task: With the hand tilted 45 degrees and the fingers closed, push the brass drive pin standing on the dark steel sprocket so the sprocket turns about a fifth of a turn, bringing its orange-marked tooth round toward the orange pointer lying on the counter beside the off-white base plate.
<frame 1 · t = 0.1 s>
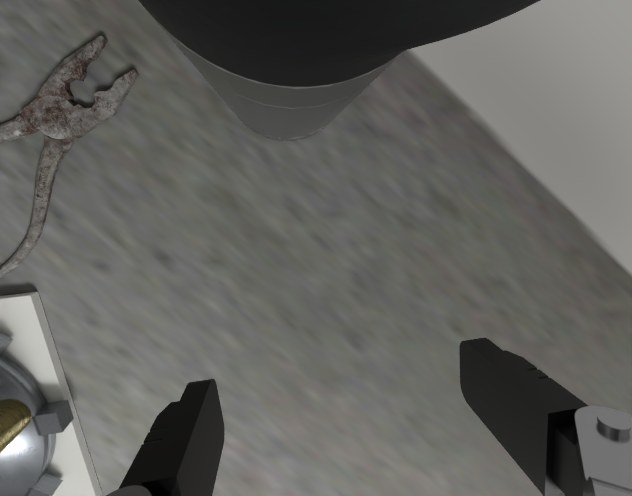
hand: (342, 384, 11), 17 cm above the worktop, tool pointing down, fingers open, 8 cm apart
pliers: (12, 144, 24), on the worktop
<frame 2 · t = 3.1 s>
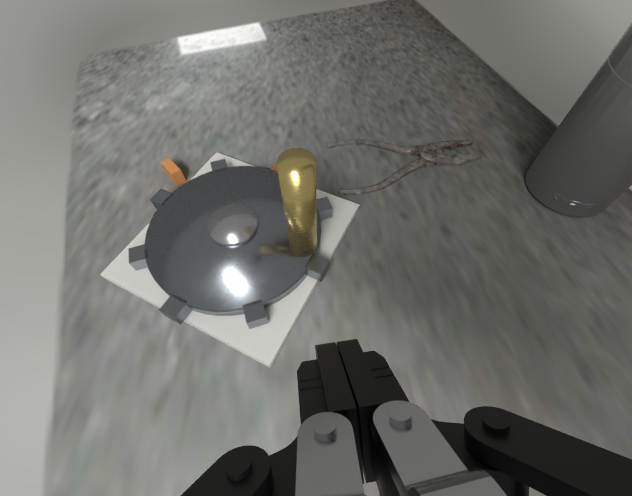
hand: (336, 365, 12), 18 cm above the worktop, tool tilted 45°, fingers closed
base plate: (239, 241, 37), on the worktop
pliers: (397, 156, 44), on the worktop
sprocket: (222, 197, 31), point 7 cm above the worktop, hinge at 0.0°
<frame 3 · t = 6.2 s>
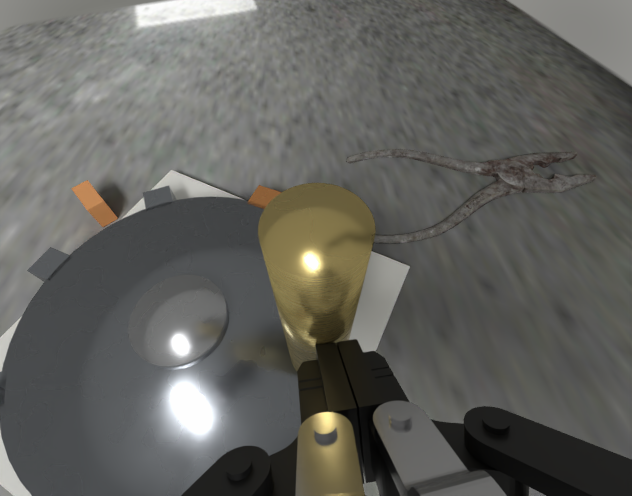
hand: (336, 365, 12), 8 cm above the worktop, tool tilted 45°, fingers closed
base plate: (197, 337, 20), on the worktop
pliers: (458, 177, 28), on the worktop
sprocket: (144, 282, 14), point 7 cm above the worktop, hinge at 4.1°, touching gripper
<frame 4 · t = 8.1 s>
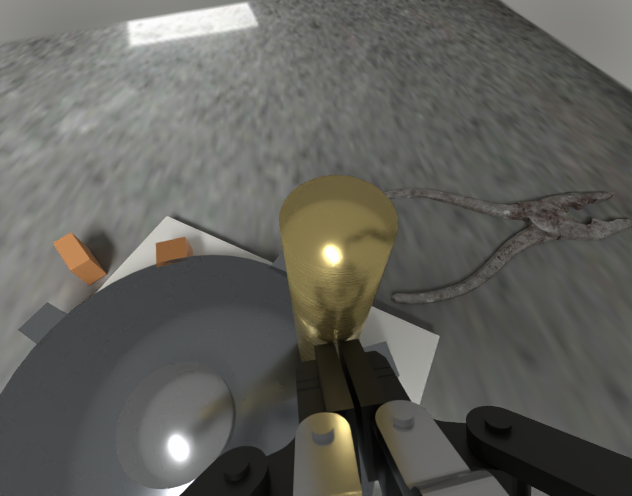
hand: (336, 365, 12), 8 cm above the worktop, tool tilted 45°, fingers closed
base plate: (197, 426, 18), on the worktop
pliers: (484, 220, 26), on the worktop
sprocket: (133, 406, 11), point 7 cm above the worktop, hinge at 42.1°, touching gripper
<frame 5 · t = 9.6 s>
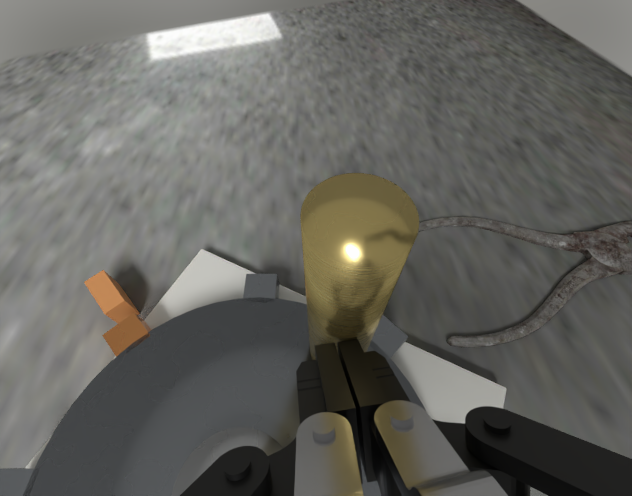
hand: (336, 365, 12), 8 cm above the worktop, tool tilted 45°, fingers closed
base plate: (248, 491, 16), on the worktop
pliers: (536, 250, 24), on the worktop
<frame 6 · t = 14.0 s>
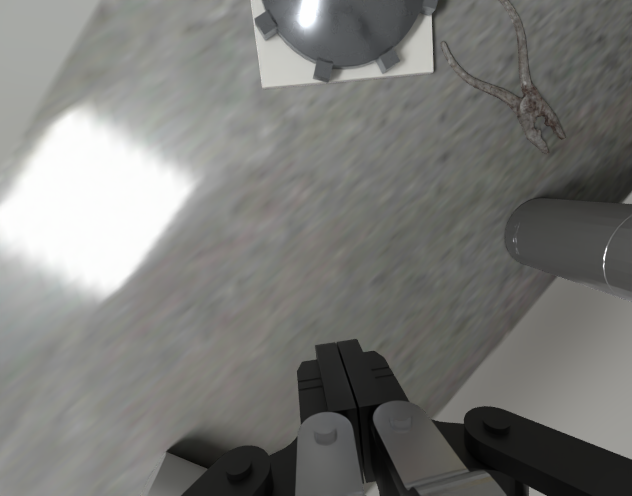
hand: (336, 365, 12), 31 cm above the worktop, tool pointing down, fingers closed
pliers: (515, 75, 41), on the worktop
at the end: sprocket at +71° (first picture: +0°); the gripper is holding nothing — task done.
